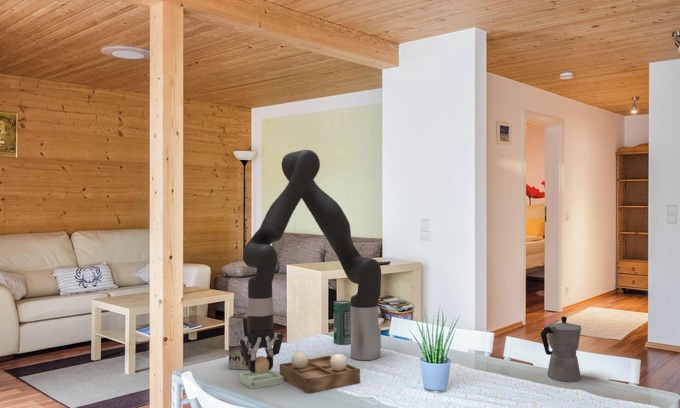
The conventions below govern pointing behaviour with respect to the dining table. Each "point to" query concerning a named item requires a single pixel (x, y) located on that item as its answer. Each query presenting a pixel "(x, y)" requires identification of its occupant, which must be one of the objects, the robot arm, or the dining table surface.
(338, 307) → the can
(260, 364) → the brown egg
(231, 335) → the coffee box
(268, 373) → the dish
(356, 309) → the robot arm
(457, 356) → the dining table surface
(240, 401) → the dining table surface
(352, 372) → the egg tray
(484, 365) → the dining table surface
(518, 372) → the dining table surface
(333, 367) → the white egg
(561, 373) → the coffeepot
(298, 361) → the white egg
